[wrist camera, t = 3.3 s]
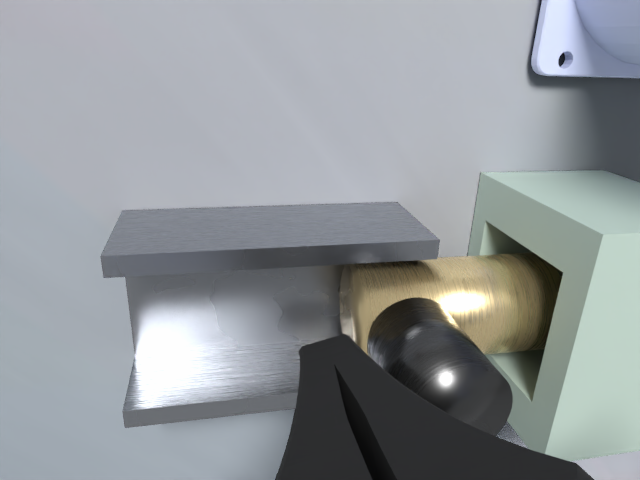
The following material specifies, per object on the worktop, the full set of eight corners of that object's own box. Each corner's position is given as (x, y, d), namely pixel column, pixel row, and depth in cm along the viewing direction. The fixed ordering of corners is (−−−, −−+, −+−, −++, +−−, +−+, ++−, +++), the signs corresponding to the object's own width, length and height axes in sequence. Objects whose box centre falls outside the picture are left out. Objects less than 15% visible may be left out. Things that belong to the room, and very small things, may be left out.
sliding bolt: (583, 235, 18) (755, 326, 12) (563, 311, 19) (712, 428, 14) (342, 246, 16) (415, 361, 11) (337, 330, 18) (400, 474, 12)
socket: (603, 169, 19) (767, 226, 13) (560, 339, 21) (681, 444, 16) (480, 172, 18) (603, 234, 12) (452, 350, 20) (541, 465, 15)
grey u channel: (397, 202, 17) (439, 240, 14) (384, 335, 19) (418, 394, 16) (122, 210, 16) (100, 256, 12) (139, 356, 18) (124, 427, 14)
